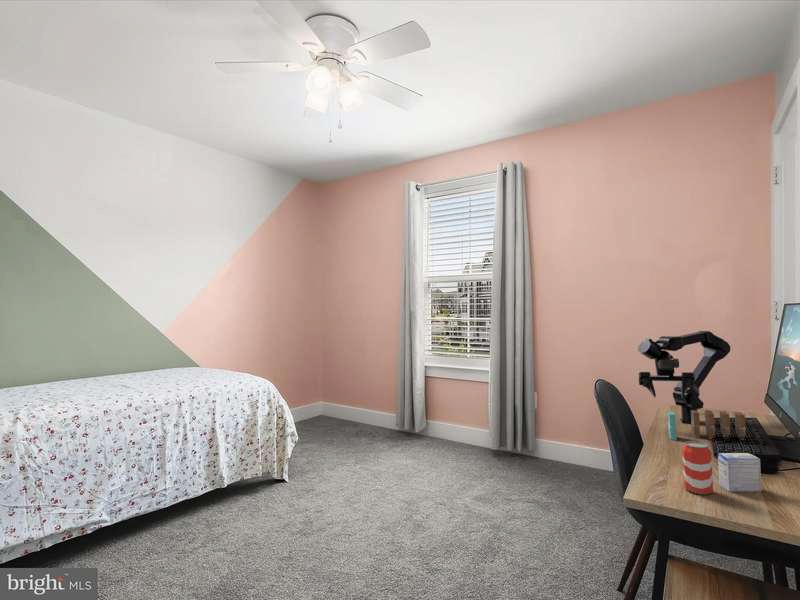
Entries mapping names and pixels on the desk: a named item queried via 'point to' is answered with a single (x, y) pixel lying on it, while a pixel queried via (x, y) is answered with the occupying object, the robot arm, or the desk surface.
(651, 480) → the desk surface
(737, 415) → the domino
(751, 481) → the medicine box
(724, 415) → the domino
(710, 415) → the domino
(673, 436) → the end domino
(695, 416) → the domino
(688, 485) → the beverage can
